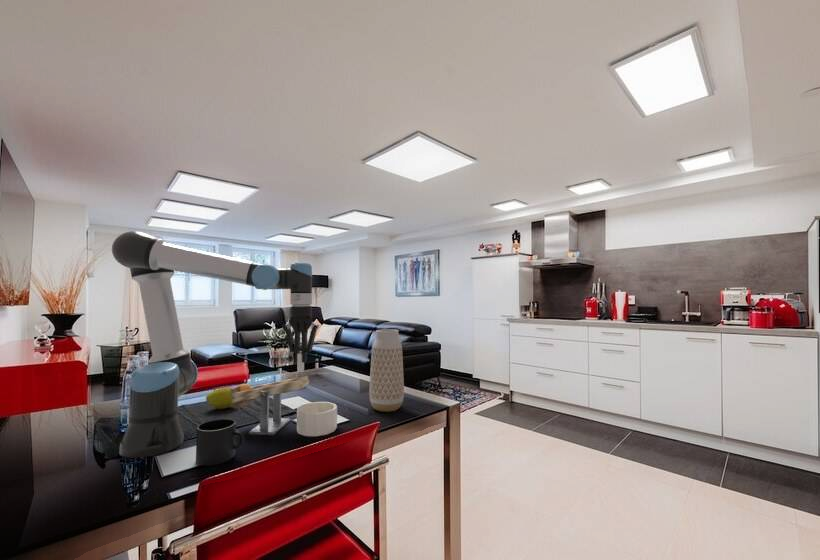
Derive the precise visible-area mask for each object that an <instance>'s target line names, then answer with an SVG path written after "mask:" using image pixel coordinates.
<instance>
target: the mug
mask: <svg viewBox="0 0 820 560" xmlns="http://www.w3.org/2000/svg"><path fill="white" fill-rule="evenodd" d="M236 436H238V437H239V438H240V442H239V443H238V444H236V441H237V439H236V438H237V437H236ZM195 442H196V444H195V445H196V446H195V462H196V464H198V465H199V466H207V467H208V466H216V465H221V464H225V463H226V462H228V461H231V460H232V459H233V458H234V457H235V455H236V449H239V448H241V447H242V446H243V444H244V443H245V437H244V434H243V433H242V432H241V431H238V430H237V422H236V421H235V420H234V419H232V418H217V419H212V420H208V421H205V422H201V423H200V424H198V426H197V427H196V441H195Z"/></svg>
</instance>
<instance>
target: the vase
mask: <svg viewBox="0 0 820 560" xmlns="http://www.w3.org/2000/svg"><path fill="white" fill-rule="evenodd" d="M399 332H400V331H399V329H390V328H389V329H386V328H384V329H382V328H381V329H377V330H375V339H374V341H373V343H372V345H371V356H370V358H371V359H370V372H369V373H370V374H369V376H370V377H369V387H368V389H369V391H368V392H369V401H370V402H369V403H370V404H371V406H372V408H373V409H374V410H376V411H379V412H384V413H385V412H395V411H397V410H398V409H400V407H401V406H402V404H403V402H404V397H405V382H404V381H405V380H404V361H403V360H404V358H403V357H404V356H403V345H402V343H401V341H400V339H399V335H400V334H399Z"/></svg>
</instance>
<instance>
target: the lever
mask: <svg viewBox="0 0 820 560" xmlns="http://www.w3.org/2000/svg"><path fill="white" fill-rule="evenodd" d="M243 384H244V383H241V384H239V385H237V386H235V387H233V388H230V391H231V397H232V403H233V402H234V405H235V409H236V410H237V409H238V410H239V409H243V408H247V407H248V406H250V405H251V404H253V403H254V401H255V400H254V399H258V398H261V391H269V396H272V395H274V394H279V393H281V394H283V393H289V392H293V391H299V390H303V389H304V388H305V387H308V386H309V385H310V380H309V376H308V375H305V376H298V377H295V378H289V379H284V380H279V381H274V382H270V383H264V384H258V385H254V386H250V387H251V390H247V391H242V392H240V391H239V389H240V387H241V385H243Z"/></svg>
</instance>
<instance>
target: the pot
mask: <svg viewBox="0 0 820 560" xmlns="http://www.w3.org/2000/svg"><path fill="white" fill-rule="evenodd" d="M337 428H338V406H337V404H336V403H333V402H329V401H314V402H313V401H312V402H308V403H304V404H301V405H299V406H298V407H297V408H296V432H297V434H299V435H301V436H304V437H319V436H325V435H329V434H331V433H333V432H335V431H336V429H337Z"/></svg>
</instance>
